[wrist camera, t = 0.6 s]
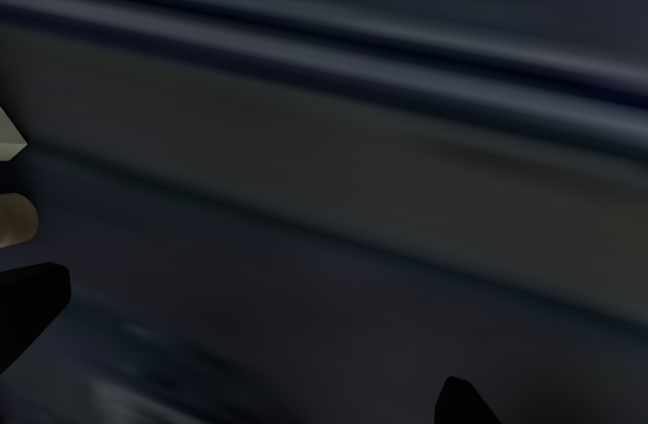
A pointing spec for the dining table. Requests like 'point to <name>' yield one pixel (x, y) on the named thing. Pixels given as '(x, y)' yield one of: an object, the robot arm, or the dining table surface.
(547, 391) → the dining table surface
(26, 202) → the dowel
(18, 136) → the block
